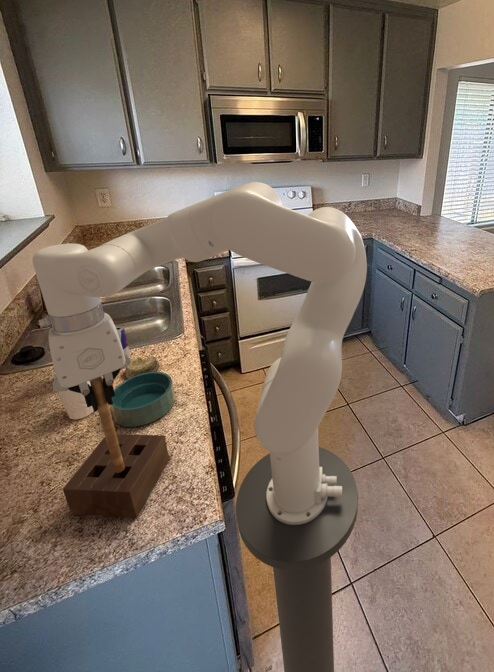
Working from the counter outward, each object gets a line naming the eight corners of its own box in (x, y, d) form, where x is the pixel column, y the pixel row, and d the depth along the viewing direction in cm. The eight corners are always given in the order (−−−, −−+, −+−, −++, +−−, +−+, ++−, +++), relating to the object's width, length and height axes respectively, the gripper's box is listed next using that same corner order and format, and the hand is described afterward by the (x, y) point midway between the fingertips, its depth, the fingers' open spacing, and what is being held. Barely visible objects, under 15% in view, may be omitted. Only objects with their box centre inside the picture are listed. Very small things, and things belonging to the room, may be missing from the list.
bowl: (184, 389, 106) (181, 372, 104) (158, 429, 92) (154, 410, 90) (135, 388, 107) (131, 371, 105) (101, 427, 93) (96, 409, 91)
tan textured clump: (159, 377, 113) (155, 363, 110) (123, 385, 109) (119, 372, 107) (160, 357, 121) (156, 344, 119) (127, 365, 118) (123, 352, 116)
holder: (169, 458, 83) (164, 435, 81) (136, 518, 70) (129, 492, 68) (113, 456, 84) (107, 433, 82) (71, 514, 71) (62, 489, 69)
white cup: (67, 426, 93) (57, 395, 90) (64, 409, 99) (54, 379, 96) (101, 411, 98) (93, 381, 95) (97, 396, 104) (88, 367, 101)
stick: (126, 465, 73) (103, 375, 66) (121, 473, 71) (96, 382, 64) (118, 465, 73) (93, 375, 66) (112, 473, 71) (87, 382, 64)
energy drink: (134, 357, 122) (127, 326, 118) (122, 366, 117) (114, 335, 113) (122, 355, 124) (115, 324, 120) (109, 364, 119) (101, 332, 115)
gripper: (19, 342, 53) (52, 439, 59) (134, 309, 63) (152, 394, 69) (17, 324, 58) (48, 414, 64) (123, 295, 68) (141, 376, 74)
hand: (102, 403), depth 67 cm, fingers closed on stick, 1 cm apart
